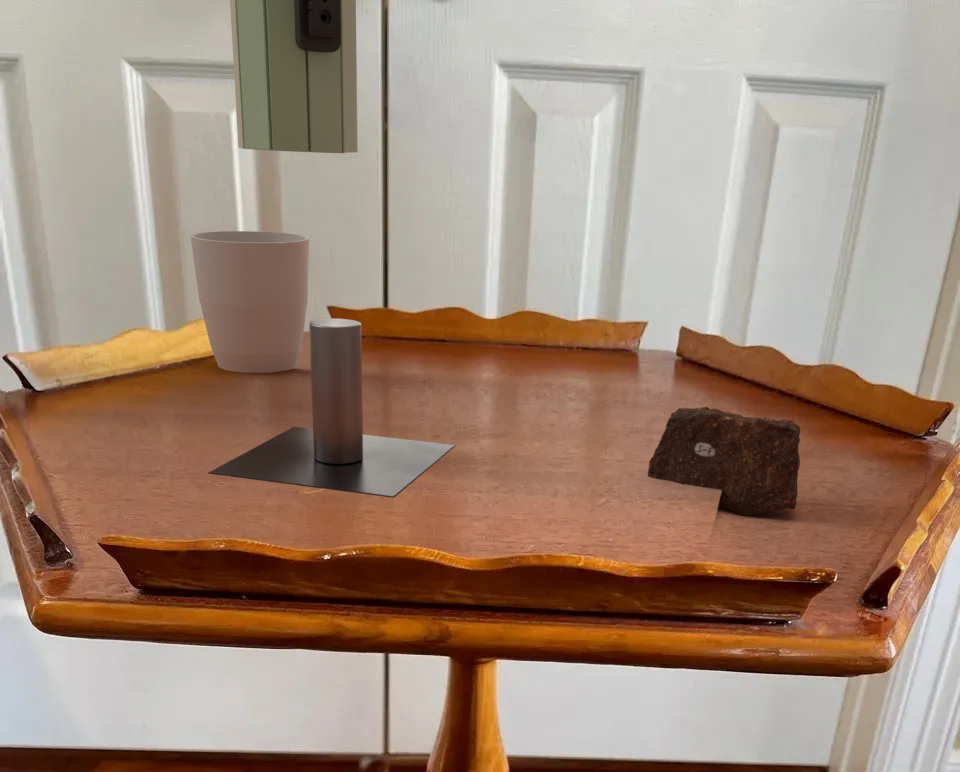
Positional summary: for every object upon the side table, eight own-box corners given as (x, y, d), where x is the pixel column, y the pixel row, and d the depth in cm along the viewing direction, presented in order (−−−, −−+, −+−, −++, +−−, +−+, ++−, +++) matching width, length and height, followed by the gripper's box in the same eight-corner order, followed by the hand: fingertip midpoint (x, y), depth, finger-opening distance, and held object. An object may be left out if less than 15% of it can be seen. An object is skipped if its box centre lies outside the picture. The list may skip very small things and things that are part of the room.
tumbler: (217, 147, 56) (204, -51, 52) (273, 147, 61) (265, -31, 57) (326, 153, 54) (321, -51, 50) (373, 153, 60) (372, -30, 56)
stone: (642, 499, 54) (652, 404, 52) (657, 484, 57) (668, 393, 54) (790, 524, 51) (808, 425, 49) (799, 507, 54) (817, 412, 52)
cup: (299, 367, 81) (293, 231, 76) (326, 389, 74) (321, 242, 70) (194, 371, 78) (182, 230, 73) (212, 395, 71) (200, 242, 67)
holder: (208, 495, 52) (195, 329, 48) (294, 446, 61) (288, 302, 57) (393, 520, 50) (393, 347, 46) (455, 465, 58) (459, 316, 55)
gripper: (163, -322, 52) (191, 54, 59) (249, -439, 41) (270, 42, 48) (304, -289, 55) (313, 63, 63) (419, -388, 44) (414, 54, 52)
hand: (294, 52), depth 56 cm, fingers closed on tumbler, 6 cm apart
